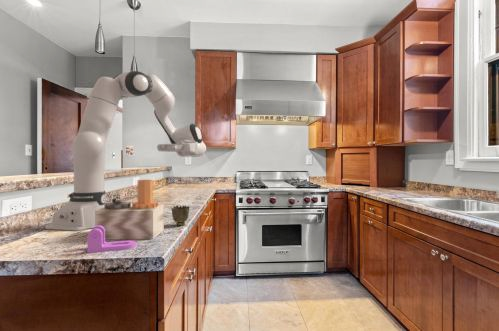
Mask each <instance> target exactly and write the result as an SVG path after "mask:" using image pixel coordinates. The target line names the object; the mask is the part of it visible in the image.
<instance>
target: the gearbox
mask: <svg viewBox="0 0 499 331" xmlns="http://www.w3.org/2000/svg"><path fill="white" fill-rule="evenodd" d="M111 200H112V201H111V202H105V207H104V208H101V209H98V210H95V226H97V225H100V226H103V227H104V229H105V240H154V239H155V238H156V237H157V236H158V235H159V234H161V233H162V232H163V231H164V228H165V226H164V224H165V221H164V220H165V219H164V217H165V216H164V215H165V213H164V211H165V210H164V207H165V205H164V204H158V207H156V208H150V209H148V208H147V209H135V208H132V203H131V201H122V200H121V199H115V198H112V199H111Z"/></svg>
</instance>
